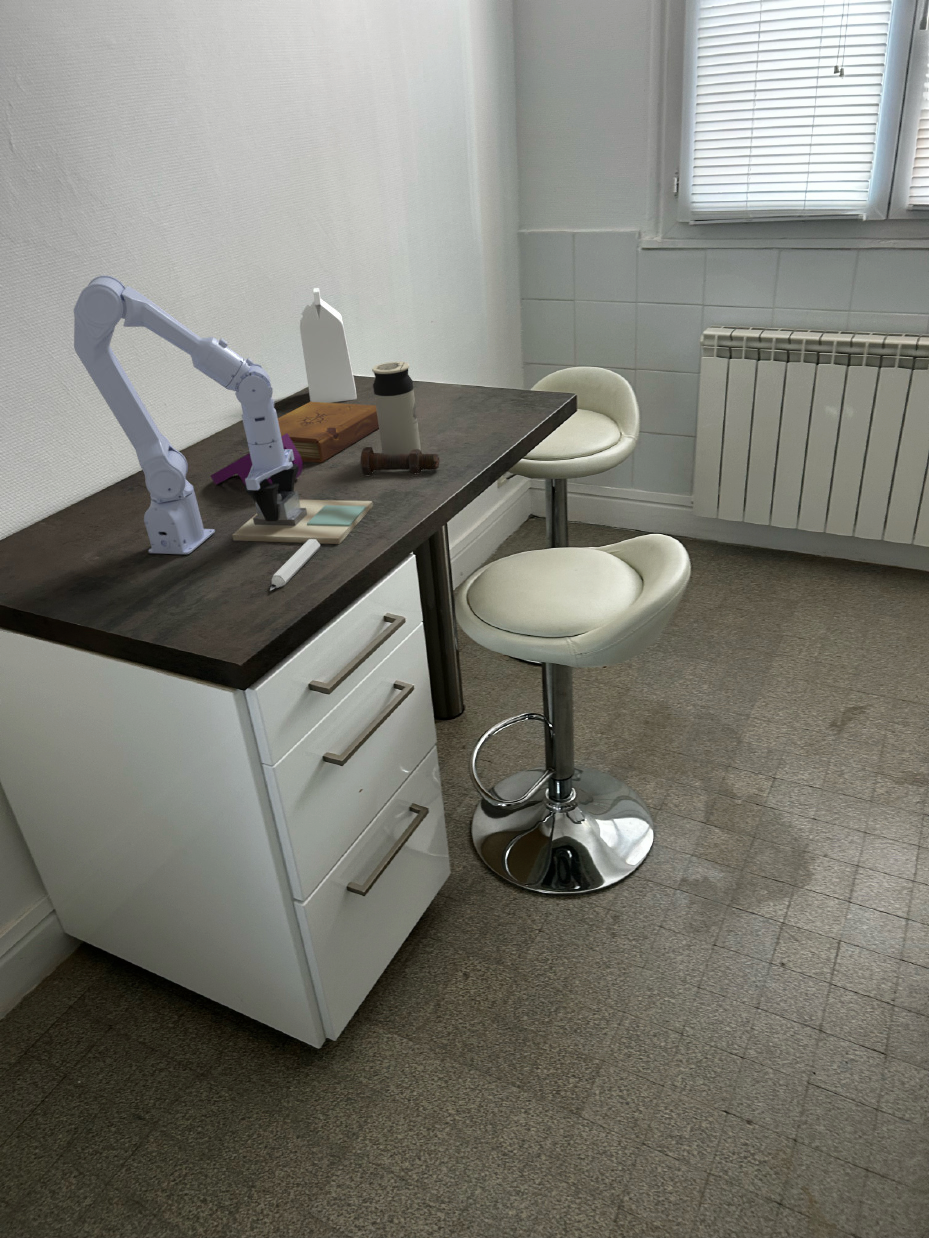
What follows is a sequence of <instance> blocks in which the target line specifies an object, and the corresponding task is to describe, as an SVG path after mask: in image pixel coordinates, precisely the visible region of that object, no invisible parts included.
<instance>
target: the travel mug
mask: <svg viewBox="0 0 929 1238" xmlns="http://www.w3.org/2000/svg"><path fill="white" fill-rule="evenodd" d="M409 368H410V364H409V363H408V362H404V361H390V362H384V363H380V364H376V365H375V366H373V367H372V369H371V371H372V373H373V375H374V377H375V378H374V381H373V383H372V386H373V387H372V388H373V394H374V395H373V396H374V402H375V403H374V404H375V406H376V410H377V417H378V424H379V436H380V443H381V450H382V454H383V453H384V454H386V453H387V454H388V453H389V454H391V453H392V454H408V453H410V451H411V450H413V449H419V450H420V451H422V450H421V449H422V448H421V441H420V433H419V431H420V430H419V425H418V417H417V416H418V415H417V407H416V400H415V391H414V383H413V379H412V377H411V376H410V375H409Z"/></svg>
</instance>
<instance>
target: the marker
mask: <svg viewBox="0 0 929 1238" xmlns="http://www.w3.org/2000/svg"><path fill="white" fill-rule="evenodd" d="M320 547H321V543H318V541H317V540H316V539H309V540H308V541H307V542H306V543H303V545H302V546H301V547H300V548H299V549H297V550H296V552H295V553H294V554H293V555H291V557H290V558H289V559H288V560H286V561H285V563H284V564H283V565H281V567H280V568H279V569H278V570H277V571H276V572H275V573H274V574H273V575H272V578H271V580H270V581H271V585H270V589H269V591H272V590H275V589H278V588H281V587H284V586H285V585H286V584H287V583H288V582H289V581H290V580H291V579H292V578H293V577H294V576H295V575H296V574H297V573H298V572H299V571H300V570H301V569H302V567H303V566H305V564H306V563H307V562H308V561H309V560H311V558H312V557H313V556H314V555H315V554H316V553H317V552H318V551H319V550H320Z"/></svg>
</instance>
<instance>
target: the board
mask: <svg viewBox="0 0 929 1238" xmlns="http://www.w3.org/2000/svg"><path fill="white" fill-rule="evenodd" d="M299 501H300V506H301V507H300V508H306V510H307V515H306V516H305V517H304V518H303V519H302V520H301V521H300V522H299V523H298V524H297V525H296V526H284V525H254V521H253V518H254V517H255V516H256V515H257V513H255V514H254V515H253V516H252V517H251V518H250V519H249V520H247V521H246V522H245V523H244V524H243V525H241V526H240V527H239V528H238V529H236V531H235V532H234V533H232V535H231V536H232V541H242V542H244V541H246V542H249V541H250V542H270V543H271V542H272V543H273V542H275V543H297V544H298V543H299V544H300V543H301V544H302V543H303V544H305V543H306V542H307V541H308V540H309V539H316V540H317V541H318V543H319V544H331V545H333V544H335V545H340V544H342V542H343V541H344V539H346V538H347V536H348V535H349V534H350V533H351V532H352V531H353V530H354V528H355V527H356V526H357V525H358V524H359V523H360V521H362V519H364V517H365V516H366V515H367V514H368V513H369V511H370V510H371V509H372V508H373V507H374V505H373V504H374V503H373V501H372V500H334V499H333V500H332V499H330V500H329V499H324V500H323V499H299Z"/></svg>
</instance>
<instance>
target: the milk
mask: <svg viewBox="0 0 929 1238" xmlns="http://www.w3.org/2000/svg"><path fill="white" fill-rule="evenodd" d="M301 315H302V317H301V318H300V321H299V331H300V332H299V333H300V339H301V346H302V352H303V359H304V366H305V373H306V380H307V385H308V392H309V393H308V394H309V400H310V401H309V402H324V403H339V402H344V401H345V402H347V401H352V400H353V401H354V400H357V399H358V398H357V396H358V395H357V389H356V382H355V377H354V374H353V369H352V368H353V367H352V363H351V362H352V361H351V358H350V351H349V347H348V342H347V336H346V331H345V326H344V322H343V316H342V314H341V313H340V312H339V311H338V310H337V309H335V308H334V307H333V306H331V305H330V304H328V303H327V302H326V301H324V300H323V299H322V297H321V291H320V287H314V288H313V302H312V303H311V304H310V305H309V304H307V305H305V308H304V309H303V310H302V313H301Z"/></svg>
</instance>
